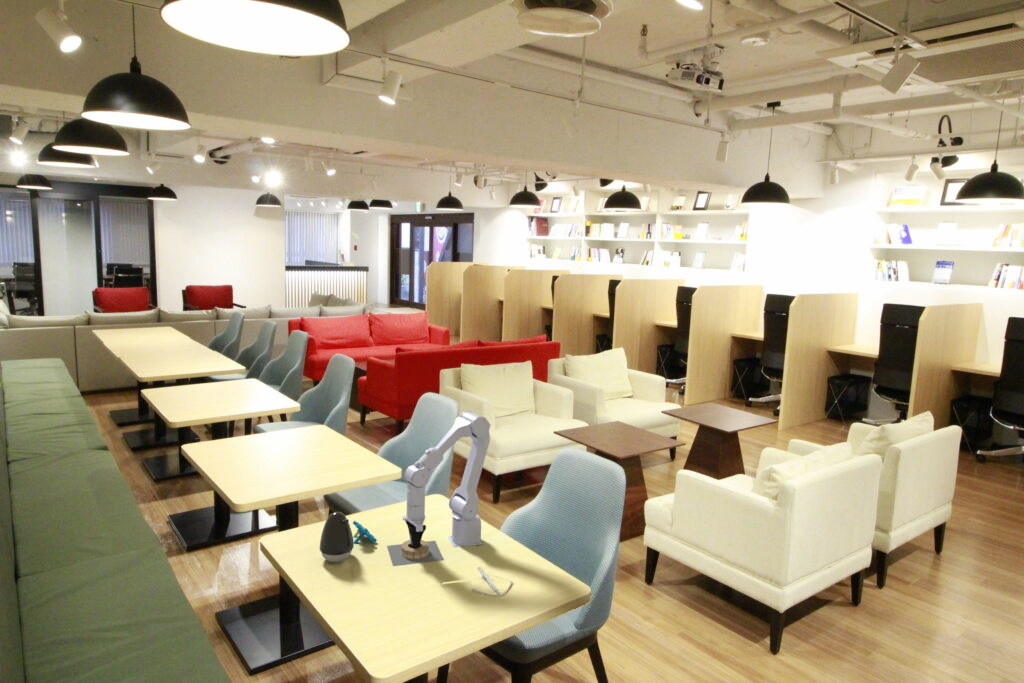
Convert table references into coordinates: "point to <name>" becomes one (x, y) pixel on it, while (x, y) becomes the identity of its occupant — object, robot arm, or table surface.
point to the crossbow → (489, 584)
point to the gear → (362, 533)
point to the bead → (414, 550)
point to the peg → (412, 545)
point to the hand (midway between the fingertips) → (415, 543)
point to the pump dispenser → (336, 538)
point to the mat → (400, 560)
